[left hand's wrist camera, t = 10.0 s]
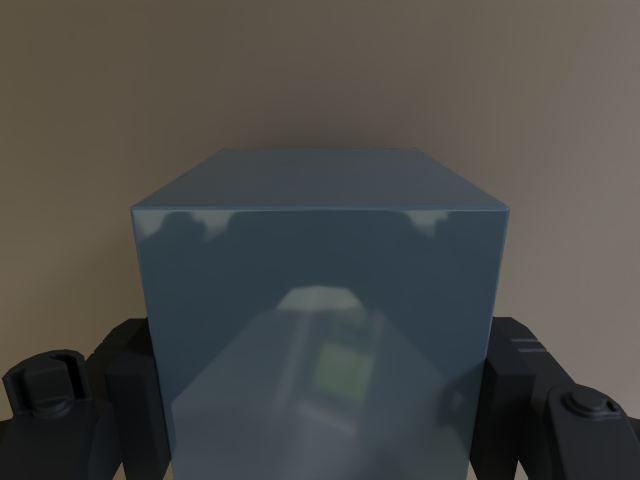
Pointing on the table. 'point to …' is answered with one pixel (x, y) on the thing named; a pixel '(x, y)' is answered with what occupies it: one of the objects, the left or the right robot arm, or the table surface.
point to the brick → (320, 313)
